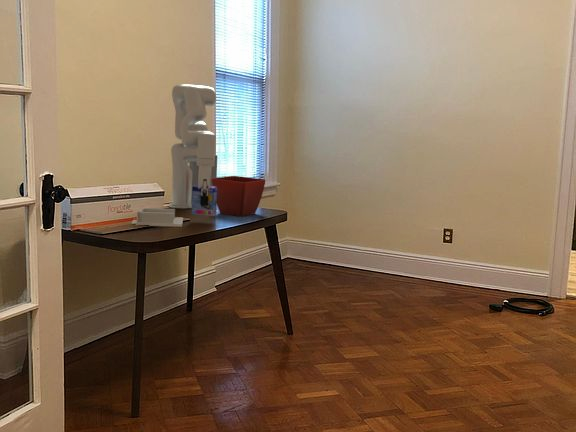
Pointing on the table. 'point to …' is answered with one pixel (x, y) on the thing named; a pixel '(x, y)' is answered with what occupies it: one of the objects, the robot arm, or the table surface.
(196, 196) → the ink cartridge box
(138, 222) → the end holder
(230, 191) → the plant pot
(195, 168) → the grey slab
